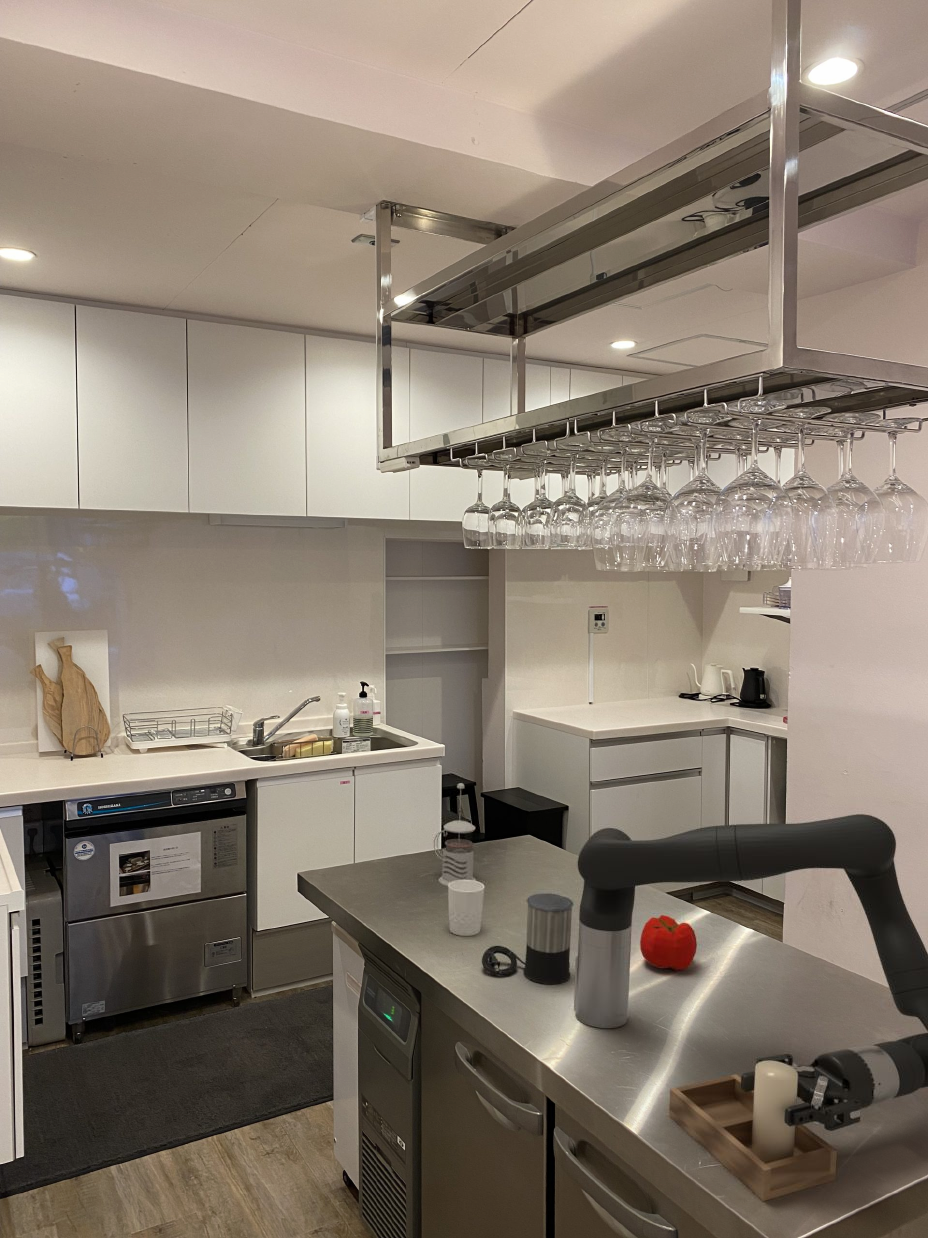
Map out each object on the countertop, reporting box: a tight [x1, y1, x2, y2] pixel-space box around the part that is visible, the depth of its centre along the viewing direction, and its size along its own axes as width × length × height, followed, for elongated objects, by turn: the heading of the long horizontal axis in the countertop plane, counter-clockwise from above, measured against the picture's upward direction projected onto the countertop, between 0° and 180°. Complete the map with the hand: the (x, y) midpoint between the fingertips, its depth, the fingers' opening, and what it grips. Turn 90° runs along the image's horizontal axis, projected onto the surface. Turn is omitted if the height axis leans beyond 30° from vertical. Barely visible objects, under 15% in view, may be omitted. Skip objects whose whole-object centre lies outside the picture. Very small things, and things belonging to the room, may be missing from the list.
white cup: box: [447, 880, 485, 937], centre depth 206 cm, size 8×8×10 cm
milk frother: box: [481, 892, 574, 985], centre depth 185 cm, size 14×16×15 cm
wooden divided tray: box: [668, 1073, 838, 1202], centre depth 131 cm, size 20×12×4 cm, turn 23°
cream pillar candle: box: [751, 1061, 798, 1164], centre depth 127 cm, size 5×5×12 cm
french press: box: [433, 782, 477, 887], centre depth 240 cm, size 10×12×25 cm
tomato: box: [639, 914, 698, 971], centre depth 192 cm, size 11×12×9 cm
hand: (763, 1100), depth 125 cm, fingers open, 8 cm apart
